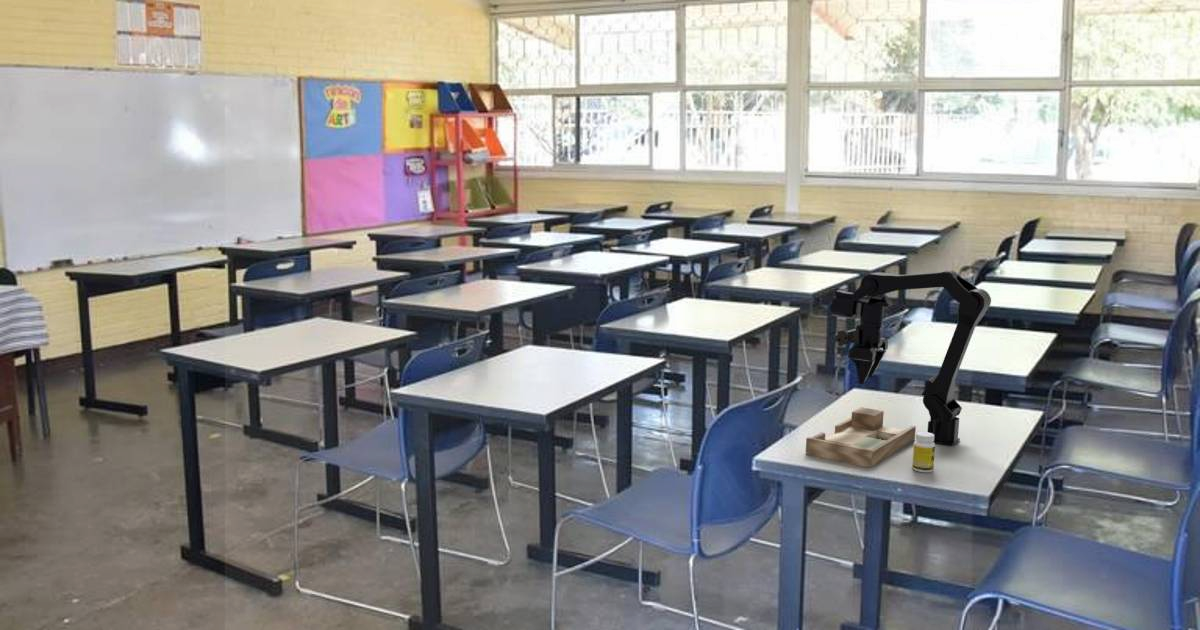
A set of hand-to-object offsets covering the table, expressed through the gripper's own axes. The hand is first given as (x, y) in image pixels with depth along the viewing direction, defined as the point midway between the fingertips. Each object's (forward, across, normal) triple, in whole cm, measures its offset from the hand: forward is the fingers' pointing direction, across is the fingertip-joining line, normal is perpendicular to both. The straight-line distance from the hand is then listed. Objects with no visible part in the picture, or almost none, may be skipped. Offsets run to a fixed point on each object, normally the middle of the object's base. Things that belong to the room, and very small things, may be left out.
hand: (865, 380), depth 269 cm
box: (+12, +18, +5) cm, 22 cm away
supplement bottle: (+12, +29, +21) cm, 38 cm away
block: (+10, +6, +3) cm, 12 cm away
